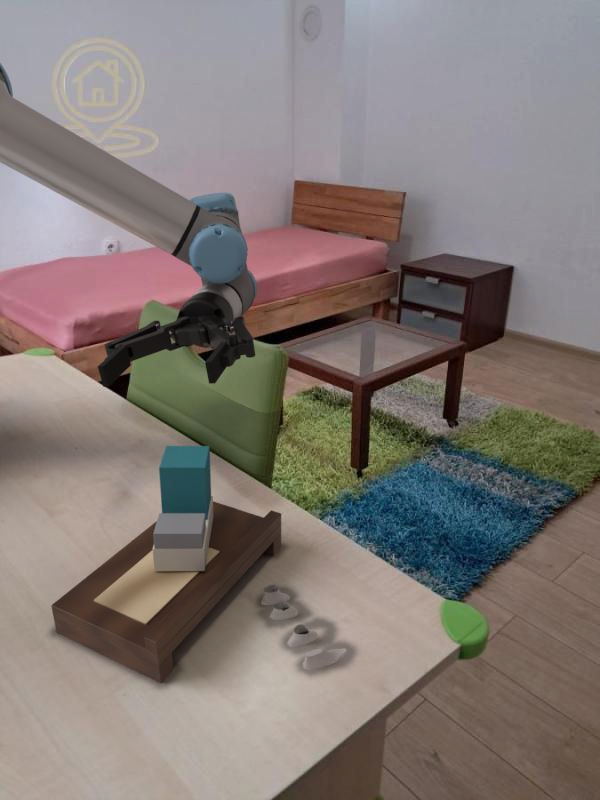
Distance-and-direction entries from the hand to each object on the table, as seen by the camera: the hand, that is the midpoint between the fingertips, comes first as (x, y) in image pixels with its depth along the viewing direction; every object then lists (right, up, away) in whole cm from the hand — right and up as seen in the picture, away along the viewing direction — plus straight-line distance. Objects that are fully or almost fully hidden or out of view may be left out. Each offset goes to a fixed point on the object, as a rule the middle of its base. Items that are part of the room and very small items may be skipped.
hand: (155, 374), depth 75 cm
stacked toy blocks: (+3, -20, 0) cm, 20 cm away
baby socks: (+17, -28, -6) cm, 34 cm away
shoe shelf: (+3, -25, -1) cm, 26 cm away
